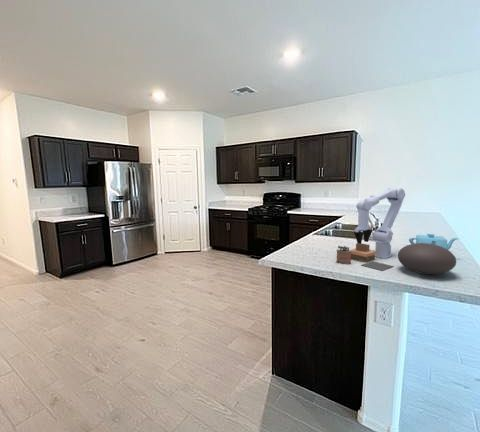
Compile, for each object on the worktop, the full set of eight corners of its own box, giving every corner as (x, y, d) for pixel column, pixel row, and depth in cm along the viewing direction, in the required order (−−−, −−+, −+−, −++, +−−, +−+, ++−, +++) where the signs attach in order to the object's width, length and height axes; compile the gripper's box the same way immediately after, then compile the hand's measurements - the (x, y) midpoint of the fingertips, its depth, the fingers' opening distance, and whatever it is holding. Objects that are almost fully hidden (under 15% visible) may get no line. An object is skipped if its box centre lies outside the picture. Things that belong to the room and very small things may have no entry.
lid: (358, 250, 170) (359, 241, 169) (376, 253, 160) (377, 244, 160) (348, 253, 163) (348, 243, 163) (366, 257, 154) (366, 247, 153)
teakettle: (405, 255, 169) (406, 232, 168) (427, 252, 175) (428, 230, 173) (434, 263, 151) (436, 238, 150) (458, 259, 157) (459, 235, 155)
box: (359, 256, 169) (359, 249, 169) (374, 259, 161) (374, 252, 161) (350, 258, 164) (350, 251, 163) (365, 262, 155) (365, 254, 155)
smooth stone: (390, 272, 136) (392, 244, 135) (404, 262, 154) (405, 237, 152) (451, 284, 119) (453, 252, 117) (458, 271, 136) (460, 243, 135)
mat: (372, 261, 156) (372, 261, 156) (393, 266, 146) (393, 266, 146) (360, 265, 149) (360, 264, 149) (382, 271, 139) (382, 270, 139)
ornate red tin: (351, 263, 154) (351, 246, 153) (350, 264, 152) (350, 247, 150) (336, 261, 159) (337, 245, 157) (335, 262, 156) (336, 246, 155)
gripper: (363, 218, 167) (363, 239, 169) (350, 220, 159) (349, 243, 160) (374, 219, 161) (374, 241, 163) (361, 222, 153) (360, 245, 155)
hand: (362, 242), depth 161 cm, fingers open, 7 cm apart
